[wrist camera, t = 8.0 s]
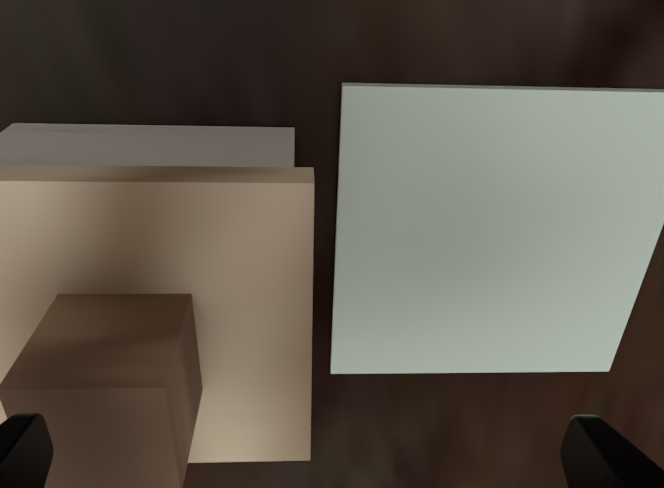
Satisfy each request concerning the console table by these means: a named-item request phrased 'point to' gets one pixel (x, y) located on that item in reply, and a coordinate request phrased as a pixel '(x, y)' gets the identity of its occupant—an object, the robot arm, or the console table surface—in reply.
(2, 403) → the lid
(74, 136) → the beige boxy piece
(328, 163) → the console table surface
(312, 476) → the console table surface
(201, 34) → the console table surface
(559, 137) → the mat
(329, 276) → the console table surface
